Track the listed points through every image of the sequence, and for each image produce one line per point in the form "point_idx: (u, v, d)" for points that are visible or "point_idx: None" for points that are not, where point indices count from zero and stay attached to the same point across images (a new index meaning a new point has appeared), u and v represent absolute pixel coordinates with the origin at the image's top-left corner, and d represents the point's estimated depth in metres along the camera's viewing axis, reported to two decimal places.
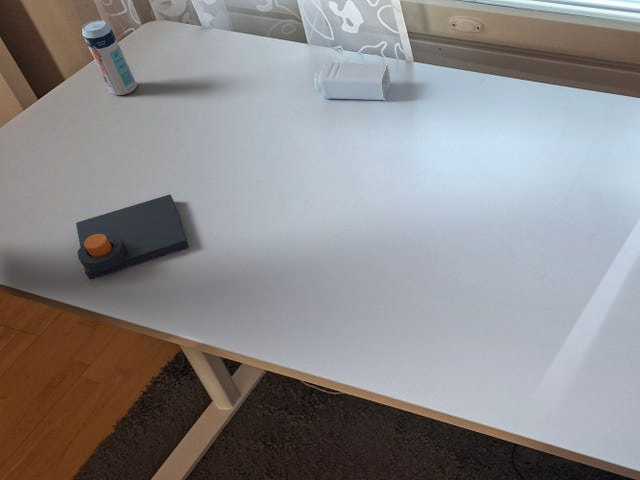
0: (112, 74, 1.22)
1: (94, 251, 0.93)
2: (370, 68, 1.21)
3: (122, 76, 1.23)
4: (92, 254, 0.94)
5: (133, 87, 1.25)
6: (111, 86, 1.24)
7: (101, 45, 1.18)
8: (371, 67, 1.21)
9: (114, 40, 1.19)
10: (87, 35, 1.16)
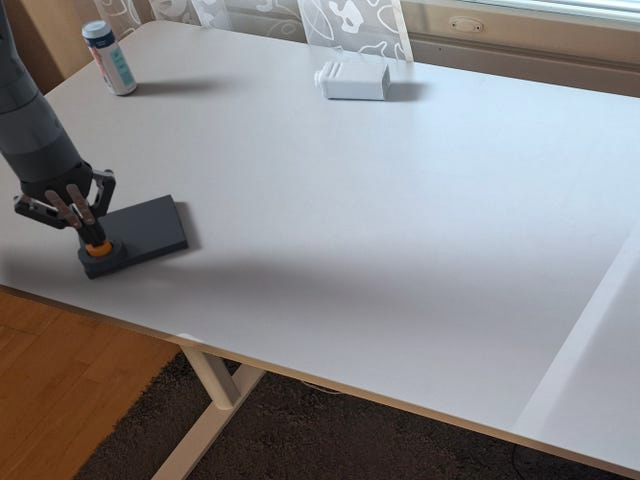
0: (112, 74, 1.22)
1: (96, 254, 0.94)
2: (370, 67, 1.21)
3: (122, 76, 1.23)
4: (94, 256, 0.94)
5: (133, 87, 1.25)
6: (111, 86, 1.24)
7: (101, 45, 1.18)
8: (371, 67, 1.21)
9: (114, 40, 1.19)
10: (87, 35, 1.16)
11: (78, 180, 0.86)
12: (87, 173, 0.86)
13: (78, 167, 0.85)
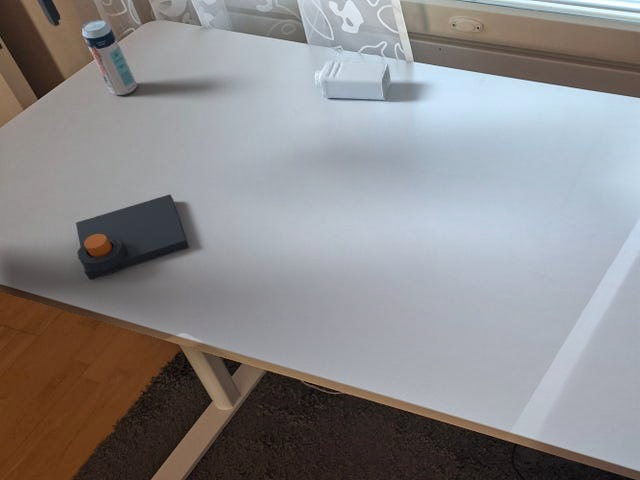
0: (112, 74, 1.22)
1: (94, 251, 0.93)
2: (371, 67, 1.21)
3: (122, 76, 1.23)
4: (92, 254, 0.94)
5: (133, 87, 1.25)
6: (111, 86, 1.24)
7: (101, 45, 1.18)
8: (371, 67, 1.21)
9: (114, 40, 1.19)
10: (87, 35, 1.16)
11: None
12: None
13: None
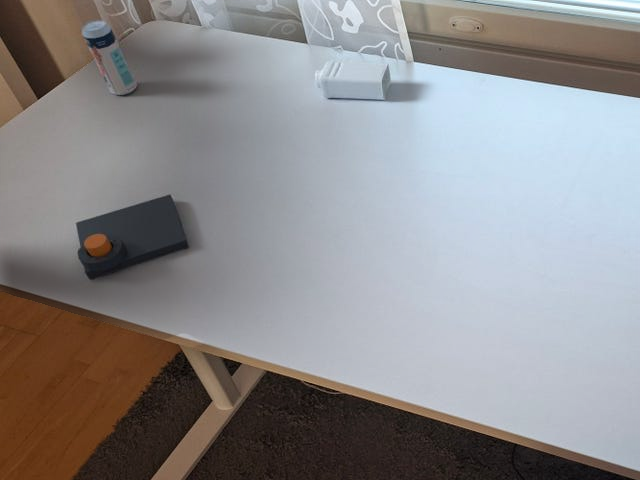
0: (112, 74, 1.22)
1: (94, 251, 0.93)
2: (371, 67, 1.21)
3: (122, 76, 1.23)
4: (92, 254, 0.94)
5: (133, 87, 1.25)
6: (111, 86, 1.24)
7: (101, 45, 1.18)
8: (371, 67, 1.21)
9: (114, 40, 1.19)
10: (87, 35, 1.16)
11: None
12: None
13: None
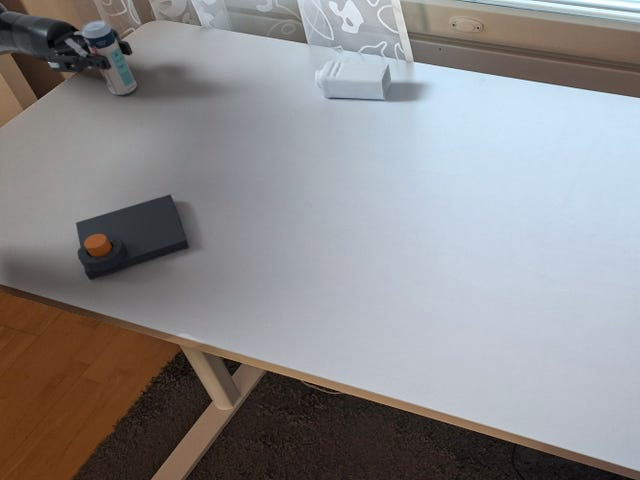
0: (112, 74, 1.22)
1: (94, 251, 0.93)
2: (371, 67, 1.21)
3: (122, 76, 1.23)
4: (92, 254, 0.94)
5: (133, 87, 1.25)
6: (111, 86, 1.24)
7: (101, 45, 1.18)
8: (372, 67, 1.21)
9: (114, 40, 1.19)
10: (87, 35, 1.16)
11: None
12: None
13: None
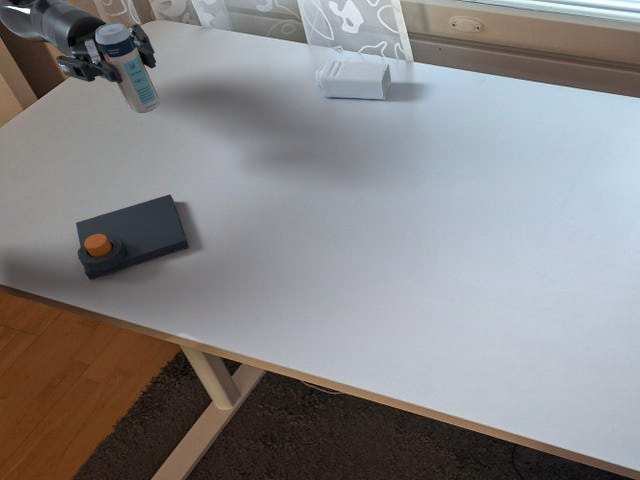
0: (127, 88, 1.00)
1: (94, 251, 0.93)
2: (371, 67, 1.21)
3: (139, 92, 1.01)
4: (92, 254, 0.94)
5: (153, 106, 1.03)
6: (127, 101, 1.02)
7: (113, 53, 0.96)
8: (372, 66, 1.21)
9: (132, 49, 0.97)
10: (98, 40, 0.95)
11: None
12: None
13: None
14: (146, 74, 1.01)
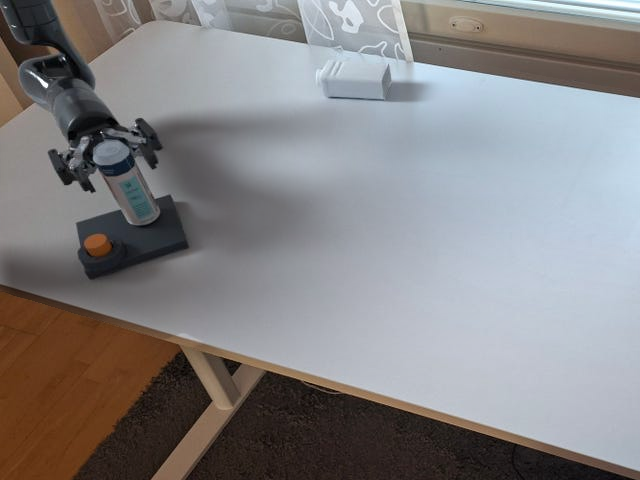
0: (122, 204, 0.96)
1: (94, 251, 0.93)
2: (371, 67, 1.21)
3: (134, 208, 0.97)
4: (92, 254, 0.94)
5: (150, 220, 0.99)
6: (124, 213, 0.99)
7: (108, 173, 0.92)
8: (372, 66, 1.21)
9: (129, 169, 0.93)
10: (94, 159, 0.91)
11: None
12: None
13: None
14: (144, 190, 0.97)
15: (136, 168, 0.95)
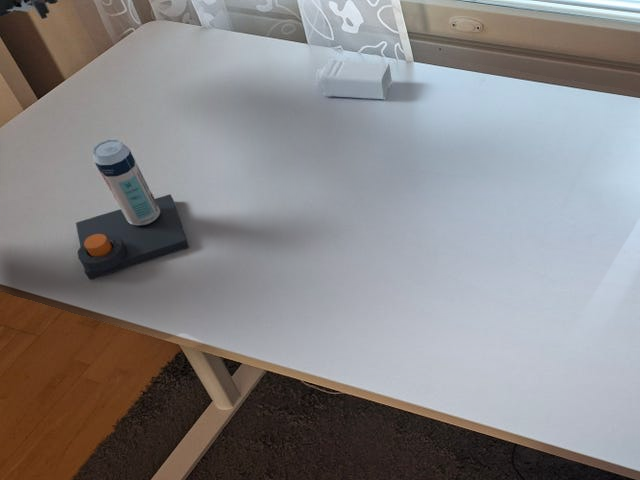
0: (122, 204, 0.96)
1: (94, 251, 0.93)
2: (372, 67, 1.21)
3: (134, 208, 0.97)
4: (92, 254, 0.94)
5: (150, 220, 0.99)
6: (124, 213, 0.99)
7: (108, 173, 0.92)
8: (372, 66, 1.21)
9: (129, 169, 0.93)
10: (94, 159, 0.91)
11: None
12: None
13: None
14: (144, 190, 0.97)
15: (136, 168, 0.95)
